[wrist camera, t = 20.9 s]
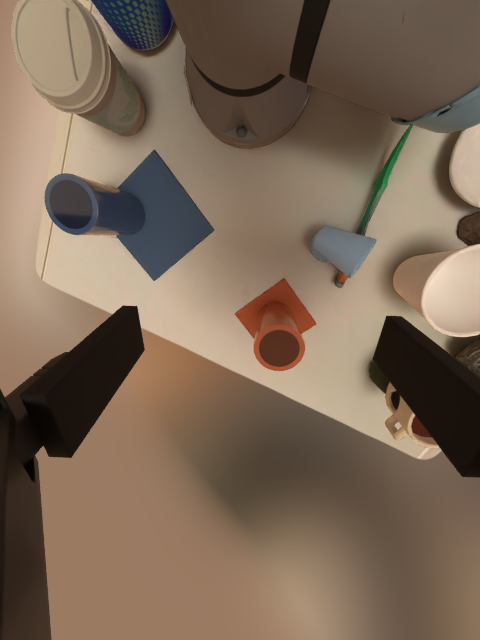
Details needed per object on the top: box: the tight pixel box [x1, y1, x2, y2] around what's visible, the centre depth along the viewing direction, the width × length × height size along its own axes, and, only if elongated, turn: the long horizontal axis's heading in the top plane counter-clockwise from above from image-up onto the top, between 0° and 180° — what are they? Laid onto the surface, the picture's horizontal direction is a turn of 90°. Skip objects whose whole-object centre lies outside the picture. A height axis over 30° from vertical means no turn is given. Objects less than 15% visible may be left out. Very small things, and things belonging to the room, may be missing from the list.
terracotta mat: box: [235, 279, 316, 339], centre depth 40 cm, size 10×9×1 cm
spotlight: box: [310, 225, 376, 278], centre depth 31 cm, size 5×10×7 cm
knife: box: [334, 125, 413, 288], centre depth 32 cm, size 20×2×5 cm, turn 166°
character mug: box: [369, 362, 440, 449], centre depth 35 cm, size 11×7×13 cm, turn 145°
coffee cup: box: [11, 0, 145, 136], centre depth 27 cm, size 8×9×12 cm
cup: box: [393, 244, 480, 337], centre depth 31 cm, size 10×10×11 cm
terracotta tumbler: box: [254, 302, 305, 371], centre depth 35 cm, size 6×6×11 cm
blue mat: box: [116, 150, 214, 281], centre depth 37 cm, size 13×13×1 cm
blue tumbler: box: [45, 173, 145, 235], centre depth 32 cm, size 6×6×11 cm
